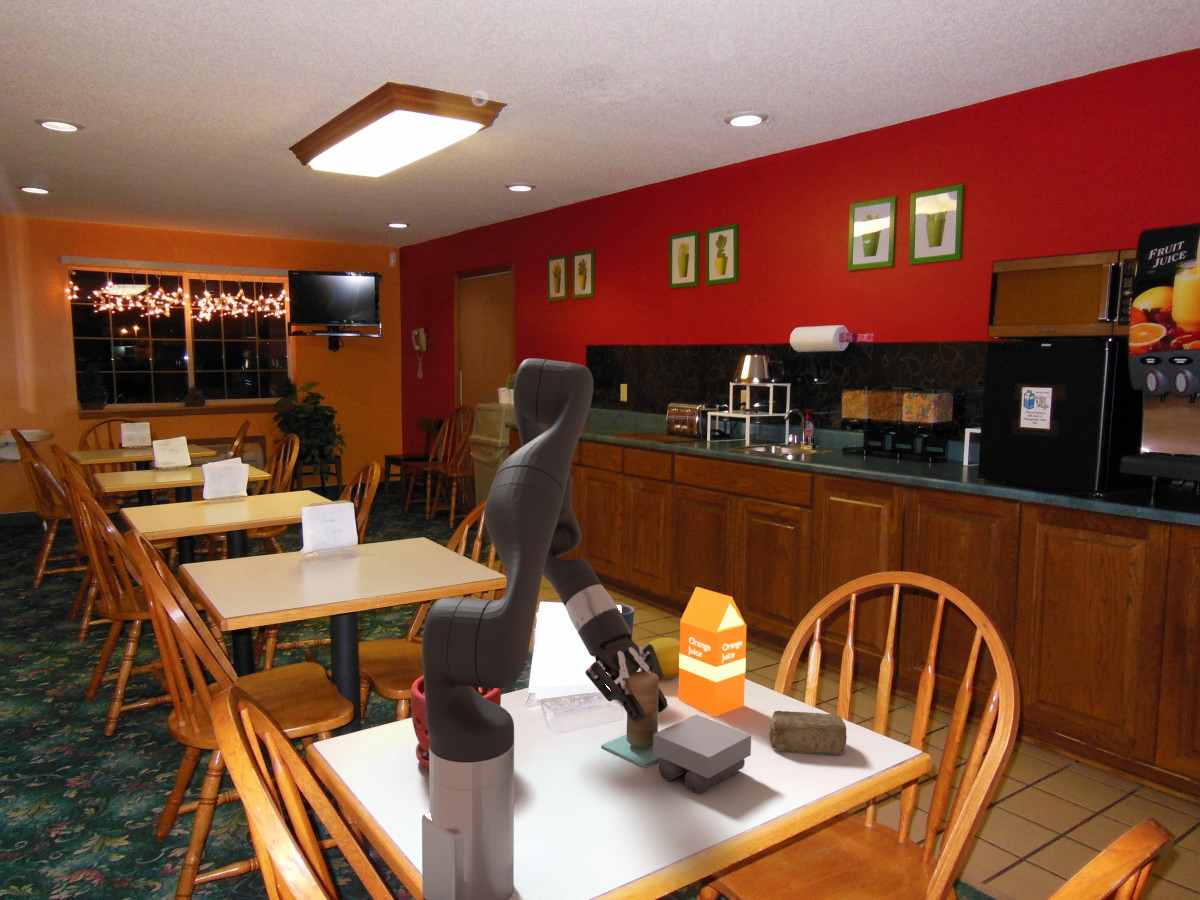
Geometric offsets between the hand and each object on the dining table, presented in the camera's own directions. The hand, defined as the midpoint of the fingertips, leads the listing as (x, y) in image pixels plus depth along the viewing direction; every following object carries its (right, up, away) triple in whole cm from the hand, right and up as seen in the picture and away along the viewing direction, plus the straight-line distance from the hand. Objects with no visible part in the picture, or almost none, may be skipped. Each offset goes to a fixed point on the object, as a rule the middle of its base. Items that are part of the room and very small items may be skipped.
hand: (651, 714), depth 126 cm
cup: (-5, -4, +25) cm, 26 cm away
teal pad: (-1, -6, +2) cm, 6 cm away
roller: (-1, -4, +2) cm, 5 cm away
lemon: (+4, -3, +30) cm, 31 cm away
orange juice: (+12, -4, +20) cm, 23 cm away
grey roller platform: (+7, -7, -6) cm, 11 cm away
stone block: (+24, -6, +3) cm, 25 cm away
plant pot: (-29, -6, -3) cm, 30 cm away
